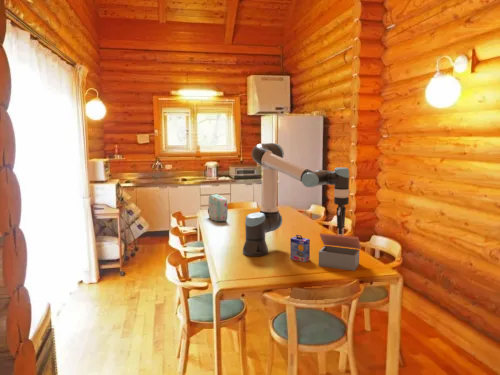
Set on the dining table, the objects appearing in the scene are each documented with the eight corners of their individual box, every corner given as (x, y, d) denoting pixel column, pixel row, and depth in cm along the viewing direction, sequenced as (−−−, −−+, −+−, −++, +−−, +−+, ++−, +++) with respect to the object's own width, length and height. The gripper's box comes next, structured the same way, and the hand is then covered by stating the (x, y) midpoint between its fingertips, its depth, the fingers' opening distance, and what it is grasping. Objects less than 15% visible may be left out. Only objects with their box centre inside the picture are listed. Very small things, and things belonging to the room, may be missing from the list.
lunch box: (206, 217, 329) (206, 193, 326) (217, 216, 334) (217, 192, 331) (217, 223, 305) (216, 197, 302) (229, 222, 309) (228, 196, 307)
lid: (319, 234, 204) (320, 233, 204) (324, 244, 213) (324, 243, 214) (357, 238, 195) (358, 237, 196) (360, 249, 205) (360, 247, 205)
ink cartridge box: (289, 259, 215) (289, 234, 213) (295, 256, 219) (295, 232, 217) (304, 262, 209) (305, 236, 207) (310, 260, 213) (310, 234, 211)
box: (318, 265, 203) (318, 251, 202) (324, 259, 214) (324, 245, 213) (354, 271, 195) (355, 255, 194) (359, 264, 206) (359, 249, 204)
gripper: (346, 199, 195) (345, 243, 198) (350, 195, 206) (349, 237, 209) (331, 198, 198) (330, 242, 201) (337, 194, 209) (336, 235, 213)
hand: (340, 239), depth 205 cm, fingers closed
